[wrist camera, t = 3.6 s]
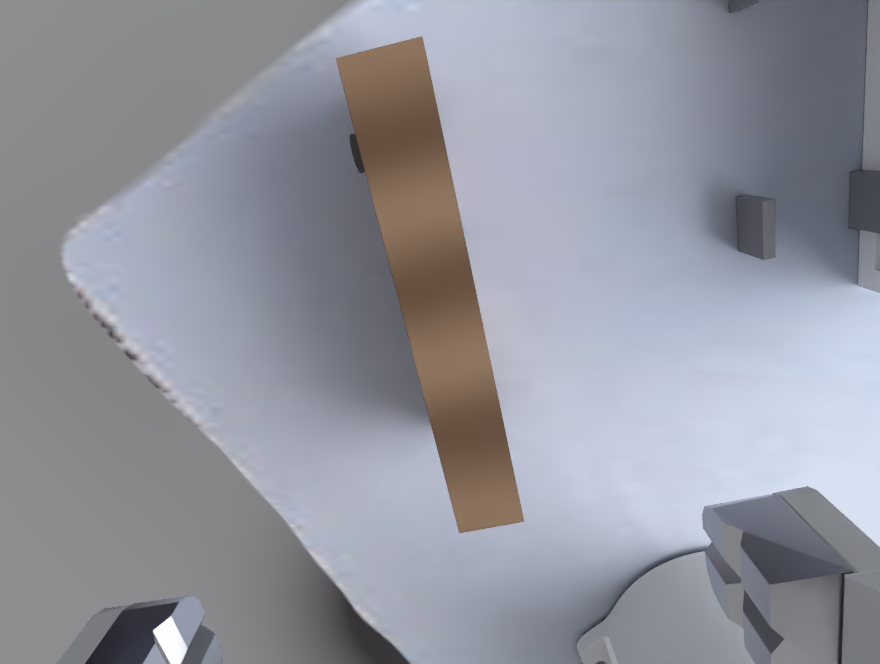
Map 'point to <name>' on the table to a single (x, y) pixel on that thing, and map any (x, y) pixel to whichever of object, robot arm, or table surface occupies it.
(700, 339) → the table surface
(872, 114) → the cabinet
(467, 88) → the table surface
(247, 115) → the table surface
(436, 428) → the door
